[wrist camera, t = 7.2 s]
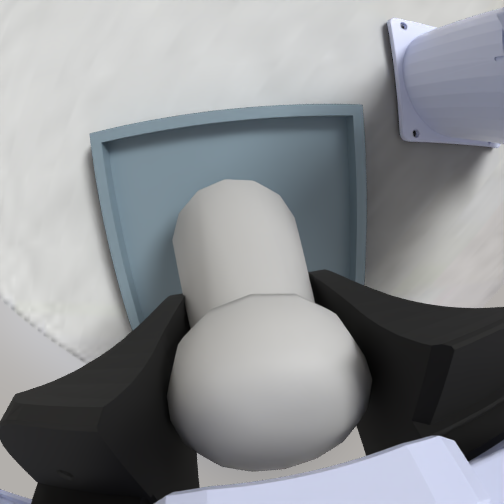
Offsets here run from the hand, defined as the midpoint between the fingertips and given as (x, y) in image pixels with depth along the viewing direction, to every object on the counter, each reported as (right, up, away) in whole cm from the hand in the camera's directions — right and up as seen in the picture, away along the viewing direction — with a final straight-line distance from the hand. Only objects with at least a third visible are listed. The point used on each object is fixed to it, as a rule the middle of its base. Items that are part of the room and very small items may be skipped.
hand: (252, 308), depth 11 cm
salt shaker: (-1, +3, +7) cm, 7 cm away
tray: (-1, +3, +7) cm, 8 cm away
